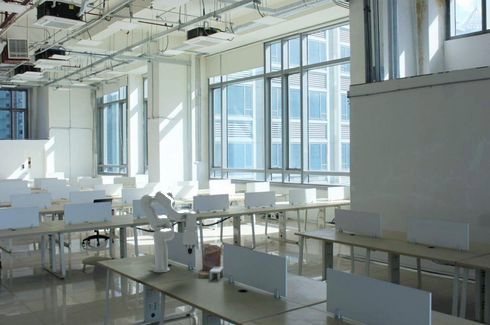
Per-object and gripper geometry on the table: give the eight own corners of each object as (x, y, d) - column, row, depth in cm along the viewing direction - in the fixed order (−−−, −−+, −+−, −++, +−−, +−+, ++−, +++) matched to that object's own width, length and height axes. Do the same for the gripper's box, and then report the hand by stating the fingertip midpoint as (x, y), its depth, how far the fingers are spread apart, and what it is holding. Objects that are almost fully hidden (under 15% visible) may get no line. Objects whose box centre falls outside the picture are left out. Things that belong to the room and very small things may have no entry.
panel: (198, 278, 377) (198, 274, 377) (201, 275, 385) (201, 271, 385) (217, 278, 375) (217, 274, 374) (219, 276, 382) (219, 271, 382)
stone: (198, 270, 399) (198, 243, 398) (207, 267, 407) (207, 241, 406) (216, 273, 387) (216, 246, 387) (225, 270, 396) (225, 244, 395)
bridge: (209, 279, 371) (209, 271, 371) (214, 274, 385) (214, 266, 384) (219, 279, 370) (219, 271, 370) (223, 274, 384) (223, 266, 383)
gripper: (179, 229, 377) (178, 254, 378) (199, 230, 374) (198, 255, 375) (182, 227, 384) (181, 251, 385) (202, 228, 381) (201, 253, 383)
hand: (190, 253), depth 380 cm, fingers closed
